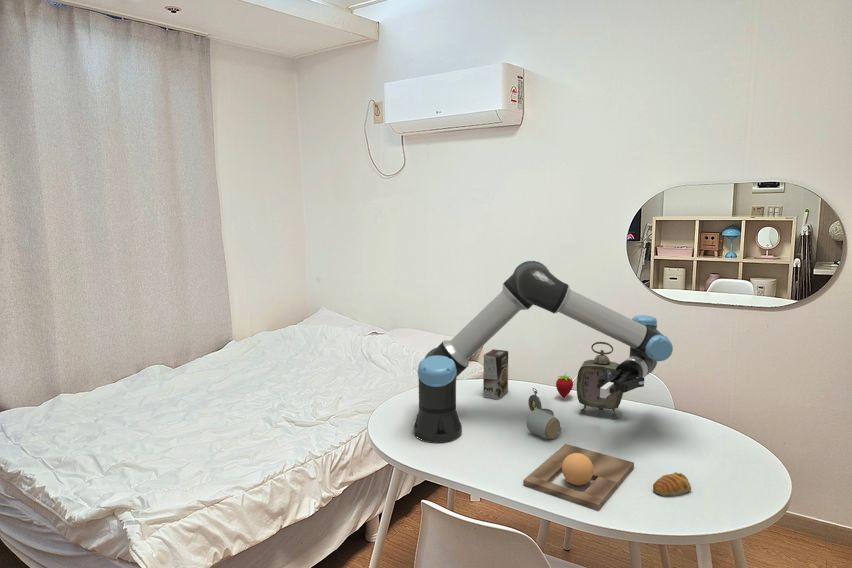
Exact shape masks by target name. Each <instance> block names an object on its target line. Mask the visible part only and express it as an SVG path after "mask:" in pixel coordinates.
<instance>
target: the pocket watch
mask: <svg viewBox="0 0 852 568" xmlns="http://www.w3.org/2000/svg"><path fill="white" fill-rule="evenodd" d="M532 391H533V392H534V393H533V394H532V395H530V396H529V398H528V408H529V411H530V413H531V412H532V411H533V410H534V409H541V410H543V411H545V412H547V413H548V414H551V415H553V416H555V415H554V411H553V410H552V409H549V408H543V405H542V402H541V400H540V397H539V396H538V395H537V394H538V390H537V389H536V388H532Z"/></svg>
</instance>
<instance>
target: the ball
mask: <svg viewBox="0 0 852 568" xmlns="http://www.w3.org/2000/svg"><path fill="white" fill-rule="evenodd" d="M593 472H594V468H593V464H592V462H591V461H590V459H589V458H588V457H587V456H585V455H583V454H580V453H573V454H570V455H568V456H567V457H566V458H565V459H564V461H563V463H562V472H561V473H562V475H563V478H564V479H565V480H566V481H567V482H568V483H570V484H571V485H574V486H584V485H586V484H588V483H589V482H590V481H592V480H591V478H592V476H593Z"/></svg>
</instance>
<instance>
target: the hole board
mask: <svg viewBox="0 0 852 568" xmlns="http://www.w3.org/2000/svg"><path fill="white" fill-rule="evenodd" d="M573 453H580V454H583V455H585V456H587V457H588V458H589V459H590V461H591V462H592V464H593V468H594V472H593V476H592V478H591V480H590V481H593V482H592V483H591V484H590V485H589V486H588V487H587V488H586V489H585V490H584V492H581V491H578V490H575V489H572V488H569V487H566V486H563V485H560V484H557V483H553V480H555V479H556V478H557V477H558V476H559V475H560V474H561V473H562V463H563V461H564V459H565V458H566V457H567V456H568V455H570V454H573ZM634 468H635V462H633V461H629V460H626V459H623V458H620V457H616V456H612V455H609V454H604V453H600V452H597V451H593V450H590V449H586V448H582V447H579V446H576V445H572V444H569V443H564V444H563V445H562V446H561V447H560V448H558V449H557V450H556V451H555V452H554V453H553V454H552V455H550V456H549V457H548V458H547V459H546V460H545V461H544V462H542V463H541V464H540V465H539V466H538V467H536V468H535V469H534V470H533V471H532V472H531V473H529V474H528V475H527V476H526V477H525V478H524V479H523V481H522V482H523V483H522V486H524V487H527V488H530V489H532V490H536V491H539V492H542V493H544V494H548V495H551V496H554V497H555V498H559V499H562V500H566V501H568V502H571V503H574V504H576V505H577V504H578V505H580V506H582V507H586V508H589V509H592V510H595V511H599V510H600V509H602V507H603V506H604V505H605V503H606V502H607V501H608V500H609V498H610V497H611V496H612V495H613V494H614V492H615V491H616V490H617V489H618V487H619V486H620V485H621V484H622V483H623V482H624V481H625V479H626V478H627V476H629V474H630V473H631V471H632V470H634Z"/></svg>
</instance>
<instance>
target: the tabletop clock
mask: <svg viewBox="0 0 852 568" xmlns="http://www.w3.org/2000/svg"><path fill="white" fill-rule="evenodd" d="M595 345H606V346H609V347H610V349H611V351H608V352H607V351H606V352H605V350H603V349H601V350H600V351H597V350H595V349H594V348H593V347H594V346H595ZM590 348H591V351H593V353H595V354H597V355H596V356H595V357H594V359H587V360H584V361H583V362H582V365H581V366H580V368H579V369H578V373H577V377H576V397H577V400H578V402H579V404H581V405H583V408H581V409H579V413H580V414H582V415H583V414H585V413H586V410H585V409H586V408H587V407H589V408H595V409H597V410H598V412H603V411H604V410H612V413H613V414H612V417H613V419H618V417H619V415H618V414H617V413H616V411H615V409H618V408H619V406H620V405H621V402H622V398H623V396H624V393H622V392H621V391H618V392H615V393H613V394H612V393H611V394H610V395H609V396H607V397H606V398H601V397H600V388H601V387H600V379H601V377H602V370H606V371H609V372H611V371H612V370H615V369H616V368H617V366H618V365H619V364H620V363H618V362H615V361H611V360H610V358H609V357H608V356H607V355H610V354H612V353H613V352H614V347H613V345H611V344H610V343H608V342H605V341H596V342H594V343H592V345H591V347H590ZM610 377H611V376H610ZM610 377H608V379H609V378H610ZM608 379H607V380H608Z"/></svg>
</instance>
